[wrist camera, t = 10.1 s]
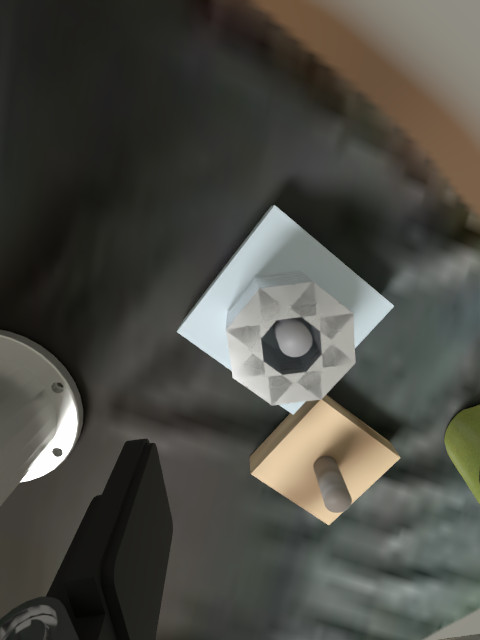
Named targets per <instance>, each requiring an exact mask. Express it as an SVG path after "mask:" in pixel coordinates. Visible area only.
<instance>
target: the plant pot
mask: <svg viewBox="0 0 480 640" xmlns="http://www.w3.org/2000/svg"><path fill="white" fill-rule="evenodd" d="M444 441H445V446H446V449H447V452H448V455H449V457H450V458H451V460H452V462H453V463H454V465H455V466H456V468H457V469H458V471H459V472H460V474H461V475H462V477H463V478H464V480H465V482H466V483H467V485H468V486H469V488H470V490H471V491H472V493H473V494H474V496H475V498H476V499H477V501H478V502H479V504H480V482H479V470H480V404H479V405H477V406H474V407H471V408H468V409H464V410H462V411H461V412H459V413H458V414H457V415H456V416H455V417H454V418H453V419H452V421H451V422H450V424H449V426H448V428H447V430H446V433H445V438H444Z"/></svg>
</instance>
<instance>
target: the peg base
mask: <svg viewBox="0 0 480 640" xmlns="http://www.w3.org/2000/svg"><path fill="white" fill-rule="evenodd" d="M299 270H300V271H302V272H303V273H304V274H305V275H307V276H308V277H309V278H310V279H312V280H313V281H314V282H315V283H316V284H317V285H318V286H320V287H321V288H322V289H323V290H325V291H326V292H327V293H328V294H330V295H331V296H332V297H334V298H335V299H337V300H338V301H339V302H340V303H341V304H343V305H344V306H345V307H346V308H348V309H349V310H350V311H351V312H353V314H354V340H355V348H356V347H357V346H358V345H359V344H360V342H361V341H362V340H363V339H364V338H365V337H366V336H367V335H368V334H369V333H370V332H371V331H372V330H373V328H374V327H375V326H376V325H377V324H378V323H379V322H380V321H381V320H382V319H383V318H384V317H385V316H386V314H387V313H388V312H389V311H390V310H391V309H392V308H393V307H394V305H392V304H391V303H390V302H389V301H388V300H386V299H385V298H384V297H383V296H382V295H381V294H379V293H378V292H377V291H376V290H375V289H373V288H372V287H371V286H370V285H369V284H368V283H366V282H365V281H364V280H363V279H362V278H360V277H359V276H358V275H357V274H356V273H354V272H353V271H352V270H351V269H350V268H349V267H347V266H346V265H345V264H344V263H343V262H341V261H340V260H339V259H338V258H337V257H336V256H334V255H333V254H332V253H331V252H330V251H328V250H327V249H326V248H325V247H324V246H323V245H321V244H320V243H319V242H318V241H317V240H315V239H314V238H313V237H312V236H311V235H309V234H308V233H307V232H306V231H305V230H304V229H302V228H301V227H300V226H299V225H298V224H296V223H295V222H294V221H293V220H292V219H291V218H289V217H288V216H287V215H286V214H285V213H283V212H282V211H281V210H280V209H279V208H278V207H276V206H275V205H273V206H271V207H270V208H269V209H268V211H267V212H266V213H265V214H264V216H263V217H262V218H261V220H260V221H259V222H258V224H257V225H256V226H255V227H254V229H253V230H252V231H251V233H250V234H249V235H248V237H247V238H246V239H245V240H244V242H243V243H242V244H241V246H240V247H239V248H238V250H237V251H236V252H235V253H234V255H233V256H232V257H231V259H230V260H229V261H228V262H227V264H226V265H225V266H224V268H223V269H222V270H221V272H220V273H219V274H218V275H217V277H216V278H215V279H214V281H213V282H212V283H211V285H210V286H209V287H208V288H207V290H206V291H205V292H204V294H203V295H202V296H201V298H200V299H199V300H198V301H197V303H196V304H195V305H194V307H193V308H192V309H191V311H190V312H189V313H188V314H187V316H186V317H185V318H184V320H183V321H182V323H181V325H180V327H179V329H178V330H177V332H178V333H179V334H181V335H182V336H183V337H185V338H186V339H188V340H189V341H190V342H192V343H193V344H195V345H196V346H197V347H199V348H200V349H202V350H203V351H204V352H206V353H207V354H209V355H210V356H211V357H213V358H214V359H216V360H217V361H218V362H220V363H221V364H223V365H224V366H225V367H227V368H228V369H230V370H231V371H232V368H231V361H230V354H229V347H228V340H227V333H226V320H227V311H228V310H229V309H230V307H231V306H232V305H233V304H234V302H235V301H236V300H237V299H238V297H239V296H240V295H241V293H242V292H243V291H244V290H245V288H246V287H247V286H248V285H249V283H250V282H251V281H252V280H253V278H254V276H262V275H269V274H277V273H285V272H293V271H299ZM261 339H262V340H263V341H264V342H266V343H267V344H268V345H270V346H271V347H272V348H274V349H281V351H282V352H283V353H284V354H285V355H287V356H290V357H299V356H302V355H304V354H305V353H307V352H308V351H309V349H310V348H311V345H312V335H311V333H310V332H309V330H308V329H307V321H306V320H305V319H304V318H302V317H297V318H289V319H281V320H276V321H275V323H274V324H273V325H272V326H271V327H270V329H269V330H268V331H267V332H266V333H265V335H264V336H263V337H262V338H261ZM305 402H306V401H304V402H296V403H287V404H279V405H280V406H281V407H283V408H284V409H286V410H287V411H288V412H290V413H291V414H293V415H294V414H295V412H296V411H297V410H298V409H299V408H300V407H301V406H302V405H303V404H304V403H305Z"/></svg>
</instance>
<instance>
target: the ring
mask: <svg viewBox="0 0 480 640" xmlns="http://www.w3.org/2000/svg"><path fill="white" fill-rule="evenodd" d="M297 317H302V318H304V319H305V320H306V321H307V329H308V330H309V332H310V333H311V335H312V345H311V348H310V349H309V351H308V352H307V353H305V354H304V355H302V356H299V357H290V356H287V355H285V354H284V353H283V352H282V351H281V349H274V348H272V347H271V346H270V345H268V344H267V343H266V342H264V341H263V340H262V339H261V338H262V337H263V336H264V335H265V333H266V332H267V331H268V330H269V329H270V327H271V326H272V325H273V324H274V323H275V321H276V320H281V319H289V318H297ZM226 333H227V340H228V347H229V354H230V361H231V368H232V377H233V378H234V379H235V380H237V381H238V382H240V383H241V384H243V385H244V386H245V387H247V388H248V389H250V390H251V391H253V392H254V393H255V394H257V395H258V396H260V397H261V398H263V399H264V400H265V401H267V402H268V403H270V404H271V405H272V406H273V405H279V404H287V403H296V402H304V401H313V400H321V399H322V398H323V397H324V396H325V395H326V394H327V393H328V392H329V391H330V390H331V389H332V388H333V387H334V385H335V384H336V383H337V382H338V381H339V380H340V379H341V378H342V377H343V376H344V375H345V374H346V373H347V371H348V370H349V369H350V368H351V367H352V366H353V365H354V364H355V363H356V362H355V340H354V314H353V312H351V311H350V310H349V309H348V308H346V307H345V306H344V305H343V304H341V303H340V302H339V301H338V300H337V299H335V298H334V297H332V296H331V295H330V294H328V293H327V292H326V291H325V290H323V289H322V288H321V287H320V286H318V285H317V284H316V283H315V282H314V281H313V280H312V279H310V278H309V277H308V276H307V275H305V274H304V273H303V272H302V271H300V270H299V271H293V272H285V273H277V274H269V275H262V276H254V278H253V280H252V281H251V282H250V283H249V285H248V286H247V287H246V288H245V290H244V291H243V292H242V293H241V295H240V296H239V297H238V299H237V300H236V301H235V302H234V304H233V305H232V306H231V307H230V309H229V310H228V311H227V320H226Z"/></svg>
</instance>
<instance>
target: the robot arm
mask: <svg viewBox="0 0 480 640" xmlns="http://www.w3.org/2000/svg"><path fill="white" fill-rule="evenodd" d="M82 425H83V406H82V401H81V396H80V394H79V391H78V389H77V386H76V384H75V382H74V380H73V378H72V377H71V375H70V374H69V372H68V371H67V369H66V368H65V367H64V366H63V365H62V364H61V363H60V361H59V360H58V359H57V358H56V357H55V356H54V355H52V354H51V353H50V352H49V351H47V350H46V349H45V348H43V347H42V346H41V345H39V344H37V343H35V342H33V341H32V340H30V339H28V338H26V337H24V336H21V335H18V334H15V333H12V332H9V331H4V330H0V506H1V505H2V504H3V502H4V501H5V500H6V499H7V498H8V496H9V495H10V494H11V493H12V491H13V490H14V489H15V488H16V487H17V485H18V484H19V483H20V482H24V481H30V480H33V479H36V478H39V477H41V476H44V475H46V474H47V473H49V472H51V471H52V470H54V469H56V468H57V467H58V466H59V465H60V464H61V463H62V462H63V461H64V460H65V459H66V458H67V456H68V455H69V453H70V452H71V451H72V449H73V448H74V446H75V444H76V442H77V440H78V439H79V437H80V433H81V429H82ZM479 482H480V470H479ZM172 533H173V523H172V517H171V512H170V507H169V503H168V498H167V493H166V489H165V484H164V479H163V475H162V470H161V465H160V461H159V456H158V451H157V447H156V444H155V443H149V441H148V439H139V440H132V441H127V442H126V443H125V444H124V446H123V449H122V451H121V453H120V455H119V458H118V460H117V462H116V464H115V467H114V469H113V471H112V473H111V475H110V478H109V480H108V482H107V484H106V487H105V489H104V491H103V493H102V495H98V496H96V497H94V498H93V500H92V501H91V503H90V505H89V507H88V509H87V511H86V513H85V516H84V518H83V520H82V522H81V524H80V526H79V528H78V530H77V532H76V534H75V537H74V539H73V541H72V543H71V545H70V547H69V549H68V551H67V553H66V555H65V558H64V560H63V562H62V564H61V566H60V568H59V570H58V572H57V574H56V576H55V579H54V581H53V583H52V585H51V587H50V589H49V591H48V593H47V595H46V597H38V598H35V599H32V600H29V601H26V602H25V603H23V604H21V605H19V606H18V607H16V608H14V609H12V610H11V611H10V612H9V613H8V614H6V615H5V616H4V617H3V618H1V619H0V640H155V637H156V631H157V625H158V619H159V613H160V607H161V601H162V595H163V589H164V583H165V577H166V571H167V564H168V558H169V552H170V546H171V540H172ZM440 640H480V634H476V635H469V636H462V637H454V638H447V639H440Z"/></svg>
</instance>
